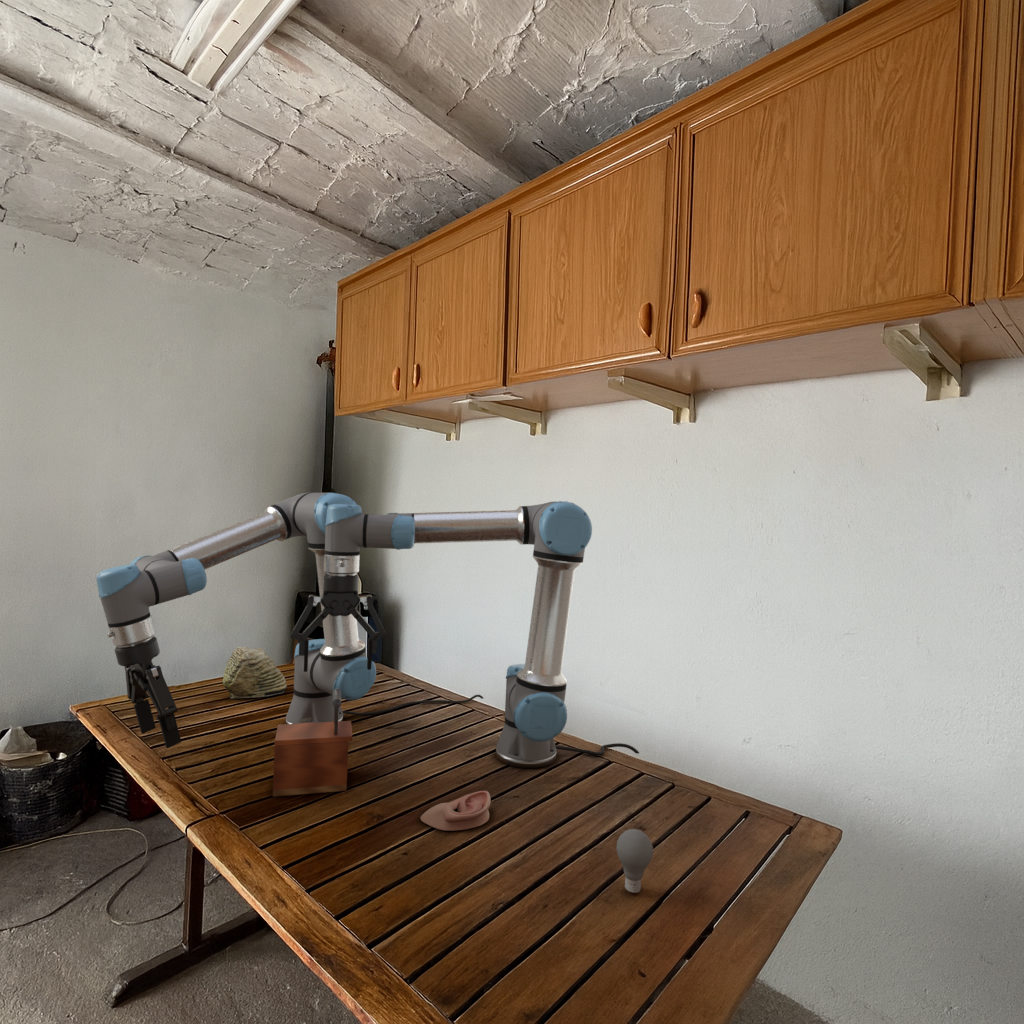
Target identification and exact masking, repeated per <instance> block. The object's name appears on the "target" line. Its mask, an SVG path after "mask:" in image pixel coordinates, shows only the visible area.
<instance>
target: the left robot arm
mask: <svg viewBox="0 0 1024 1024" xmlns="http://www.w3.org/2000/svg"><path fill="white" fill-rule="evenodd" d="M332 504H347V505H358V504H357V503H356V501H355V500H354V499H352V498H351V497H350V496H348V495H345V494H341V493H337V492H314V491H309V492H302V493H299V494H297V495H293V496H291V497H289V498H286V499H284V500H281V501H279V502H277V503H274V504H272V505H268V506H266V508H265V509H264V511H263V512H261V513H260V514H257V515H255V516H251V517H249V518H245V519H244V520H241V521H238V522H236V523H233V524H231V525H229V526H226V527H223V528H221V529H218V530H216V531H213V532H211V533H208V534H206V535H202V536H200V537H198V538H195V539H192V540H190V541H187V542H185V543H182V544H180V545H176V546H174V547H172V548H169V549H167V550H164V551H161V552H159V553H156V554H153V555H142V556H138V557H136V558H134V559H133V560H132V561H131V562H130V563H129V564H124V565H119V566H114V567H110V568H106V569H104V570H102V571H100V572H98V573H97V575H96V577H95V578H96V579H95V580H96V585H97V592H98V597H99V598H100V602H101V605H102V609H103V612H104V616H105V619H106V622H107V627H108V630H109V632H108V633H107V634H106V635H107V637H108V638H110V639H111V641H112V645H113V646H114V647H115V648H114V654H115V657H116V661H117V664H118V665H119V666H121V667H124V672H125V673H124V674H125V682H126V691H127V693H126V695H127V699H128V700H130V701H131V703H132V704H133V709H134V713H135V715H136V719H137V723H138V727H139V730H140V733H141V734H142V735H144V734H146V733H148V732H150V731H152V730H154V729H156V723H155V719H156V721H158V722H159V726H160V730H161V734H162V739H163V741H164V746H165V748H166V749H167V750H168V749H169V748H172V747H174V746H177V745H178V744H180V743H182V739H181V735H180V731H179V726H178V724H177V718H176V715H175V713H178V706H177V705H176V703H175V700H174V698H173V695H172V693H171V691H170V688H169V685H168V684H167V681H166V679H165V677H164V674H163V670H162V666H161V665H155V664H154V663H153V659H155V658H156V657H158V656H159V655H160V652H161V650H160V646H159V643H158V639H157V637H156V636H155V634H156V629H155V626H154V622H153V618H152V614H151V612H150V607H154V606H156V605H160V604H163V603H166V602H170V601H173V600H177V599H180V598H184V597H187V596H192V595H194V594H196V593H198V592H201V591H203V590H204V589H205V588H206V586H207V583H208V581H207V580H208V579H207V572H206V570H207V569H210V568H212V567H214V566H217V565H219V564H221V563H224V562H227V561H229V560H231V559H233V558H235V557H239V556H241V555H243V554H245V553H248V552H250V551H253V550H254V549H257V548H260V547H262V546H264V545H268V544H269V543H272V542H274V541H278V542H284V541H286V540H289V539H291V538H295V537H306V539H307V547H308V550H310V551H311V552H312V553H314V556H315V564H316V573H317V583H318V591H319V597H322V595H323V584H324V576H325V574H327V573H326V572H325V571H324V558H325V524H326V518H327V509H328V507H329V506H330V505H332ZM320 608H321V611H322V610H323V609H324V606H323V605H322V603H321V602H320ZM322 627H323V637H324V638H318V639H309V647H308V670H307V672H304V656H300V655H299V643H297V644H296V646H295V650H294V655H293V657H294V672H293V673H294V674H293V695H292V696H293V697H292V699H291V702H290V704H289V708H288V711H287V713H286V715H285V724H299V723H318V722H334V706H333V696H332V692H333V690H334V689H340V691H341V700H344V701H350V702H353V701H357V700H359V699H361V698H363V697H364V696H366V695H367V693H369V692H370V690H371V688H372V687H373V686H374V684H375V682H376V678H377V666H376V664H375V662H374V661H373V660H372V663H371V670H368V668H367V649H366V643H365V642H364V641H363V640H362V639H361V638H360V637H359V636H360V635H359V627H358V621H357V620H356V619H355V618H354V617H353V615H352V614H350V615H348V616H332V615H330V614H329V615H328V616H327V617H326V618H325V619H324V620H323V621H322ZM149 698H150V700H151V702H152V704H153V706H154V708H155V710H156V711H157V714H158V715H156V717H155V719H154V716H153V712H152V707H151V705H150V704H151V703H150V700H149ZM475 698H480V699H482V700H484V697H483V695H481V694H474V695H472V696H471V697H469V698H467V699H463V700H447V699H446V700H445V699H444V700H443V699H431V700H428V699H427V700H415V701H408V702H403V703H400V704H398V705H394V706H392V707H389V708H385V709H379V710H376V711H375V710H374V711H367V712H355V711H349V710H348V711H347V710H343V709H342V705H341V706H340V707H339V710H338V721H344V715H354V716H371V715H377V714H382V713H386V712H390V711H394V710H396V709H399V708H402V707H404V706H408V705H415V704H417V705H418V704H430V703H432V704H434V703H435V704H436V703H445V704H465V703H468V702H471V701H472V700H474V699H475Z"/></svg>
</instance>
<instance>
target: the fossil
mask: <svg viewBox="0 0 1024 1024" xmlns="http://www.w3.org/2000/svg"><path fill="white" fill-rule="evenodd" d="M222 676H223V677H222V685H223V687H224V688H225V690H226V691H228V693H229V698H230V699H250V698H264V697H271V696H275V695H281V694H284V693H285V691H286V689H287V687H288V686H287V680H286V678H285V676H284V674H283V673H282V672H281V669H279V668H278V667H277V665H276V663H275V662H274V660H273V659H272V658H271V657H270V656H269V655H268V654H267V653H266V652H265V650H264V649H263V648H260V647H258V648H251V647H247V646H246V647H245V646H238V647H237V648H236V649H235V650H233V651H232V653H231V656H230V657H229V659H228V660H227V663H226V666H225V668H224V671H223V675H222Z"/></svg>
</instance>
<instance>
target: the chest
mask: <svg viewBox="0 0 1024 1024" xmlns="http://www.w3.org/2000/svg"><path fill="white" fill-rule="evenodd" d="M273 751H274V753H273V779H272V798H273V797H284V796H296V795H297V796H298V795H309V794H322V793H333V792H345V791H347V790H348V763H349V762H348V761H349V741H346V742H330V743H314V744H297V745H281V746H275V745H274V750H273Z"/></svg>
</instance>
